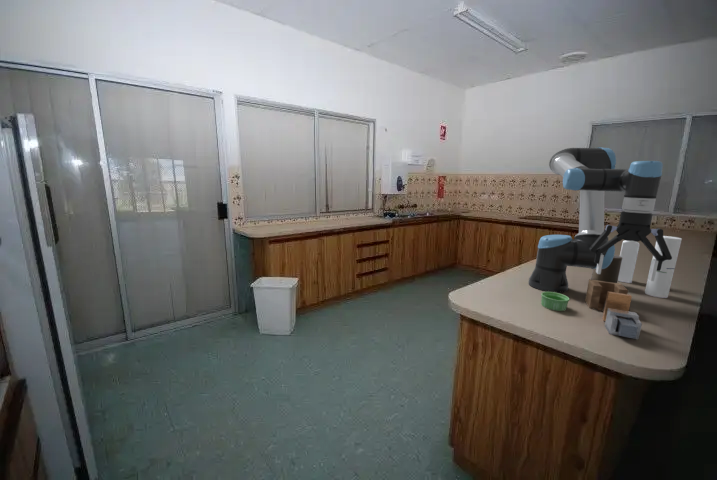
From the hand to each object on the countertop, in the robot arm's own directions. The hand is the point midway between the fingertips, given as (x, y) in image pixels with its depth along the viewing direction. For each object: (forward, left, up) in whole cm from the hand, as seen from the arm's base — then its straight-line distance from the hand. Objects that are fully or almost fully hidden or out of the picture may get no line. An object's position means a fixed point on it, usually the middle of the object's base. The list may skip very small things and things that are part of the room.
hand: (623, 276), depth 101 cm
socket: (0, +14, -16) cm, 22 cm away
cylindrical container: (+24, +43, -17) cm, 52 cm away
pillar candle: (+7, +49, -17) cm, 52 cm away
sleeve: (0, -8, -16) cm, 18 cm away
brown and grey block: (0, -4, -16) cm, 16 cm away
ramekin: (-17, +5, -17) cm, 24 cm away
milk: (+17, +60, -17) cm, 65 cm away
